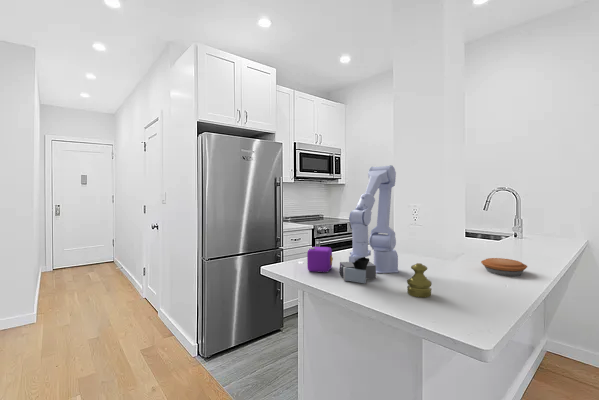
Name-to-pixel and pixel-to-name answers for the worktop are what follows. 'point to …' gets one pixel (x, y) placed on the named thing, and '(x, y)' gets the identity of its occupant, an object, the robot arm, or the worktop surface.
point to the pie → (504, 266)
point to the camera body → (369, 269)
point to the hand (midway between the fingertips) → (360, 277)
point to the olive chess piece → (419, 282)
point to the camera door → (354, 275)
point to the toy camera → (319, 259)
